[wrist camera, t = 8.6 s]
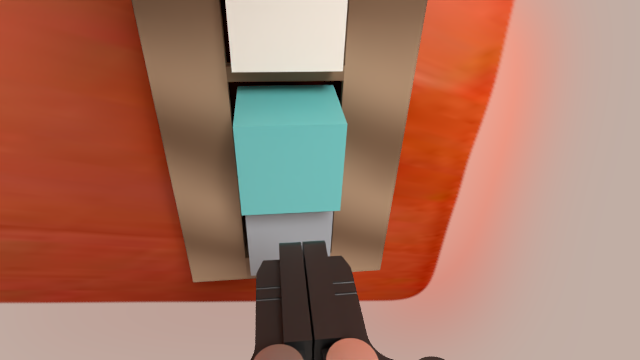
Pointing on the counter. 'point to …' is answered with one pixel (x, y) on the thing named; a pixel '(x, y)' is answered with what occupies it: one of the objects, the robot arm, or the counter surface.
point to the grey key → (284, 233)
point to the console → (215, 74)
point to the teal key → (289, 148)
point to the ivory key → (286, 35)
